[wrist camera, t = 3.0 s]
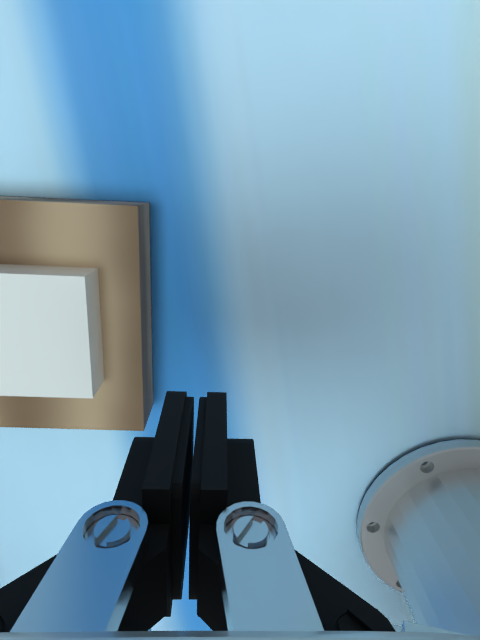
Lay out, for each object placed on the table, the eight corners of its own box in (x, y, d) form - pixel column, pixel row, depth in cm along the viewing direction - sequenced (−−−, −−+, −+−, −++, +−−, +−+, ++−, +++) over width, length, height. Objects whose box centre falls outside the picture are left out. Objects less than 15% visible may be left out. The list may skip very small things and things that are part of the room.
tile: (97, 267, 21) (84, 276, 19) (104, 380, 23) (92, 398, 21) (-71, 261, 21) (-102, 269, 19) (-51, 375, 22) (-77, 393, 20)
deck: (149, 202, 23) (137, 205, 20) (153, 403, 26) (143, 430, 24) (-83, 192, 22) (-128, 193, 20) (-46, 398, 26) (-80, 424, 23)
